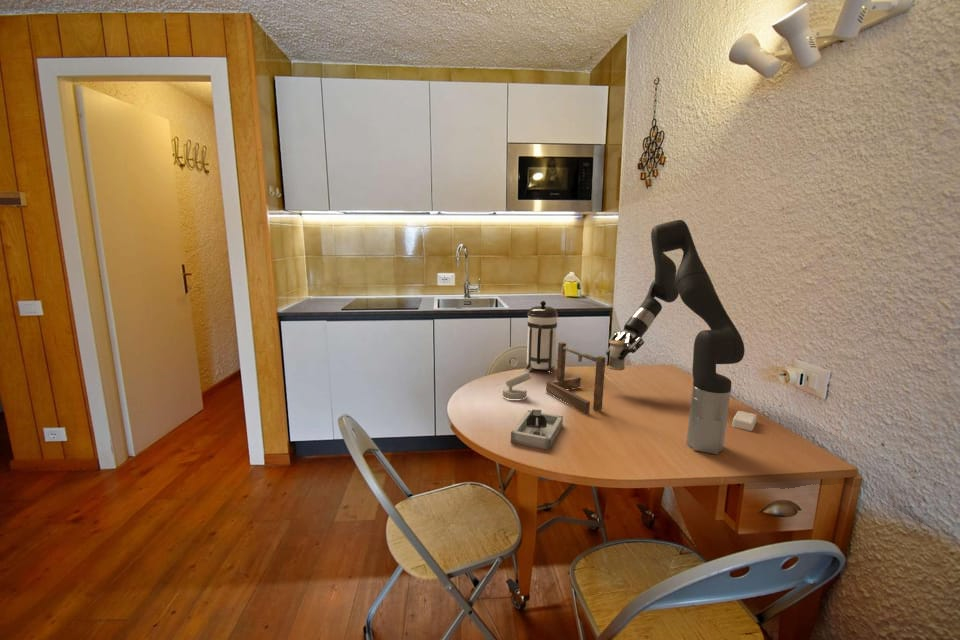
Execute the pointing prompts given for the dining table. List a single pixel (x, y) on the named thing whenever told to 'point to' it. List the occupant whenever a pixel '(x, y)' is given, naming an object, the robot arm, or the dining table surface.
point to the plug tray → (537, 431)
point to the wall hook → (513, 390)
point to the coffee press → (541, 337)
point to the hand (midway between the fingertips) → (613, 356)
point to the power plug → (536, 421)
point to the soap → (744, 420)
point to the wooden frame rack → (577, 381)
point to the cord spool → (616, 355)
